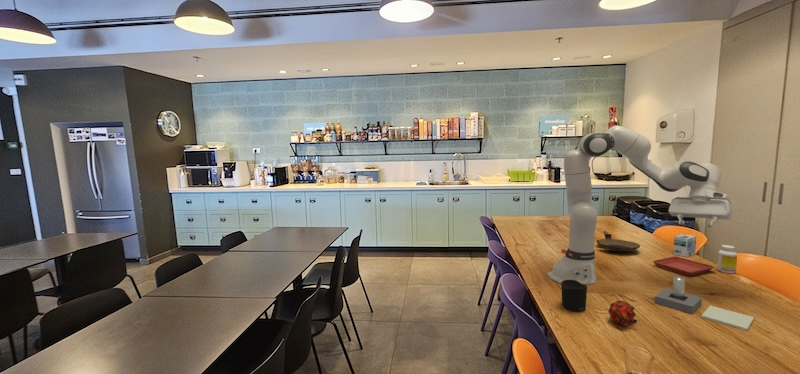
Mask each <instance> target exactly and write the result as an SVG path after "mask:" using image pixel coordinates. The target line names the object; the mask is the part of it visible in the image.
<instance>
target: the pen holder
mask: <svg viewBox="0 0 800 374" xmlns="http://www.w3.org/2000/svg"><path fill="white" fill-rule="evenodd" d="M560 284H561V305H562V307H563V309H565V310H567V311H570V312H574V313H581V312H584V311H586V307H587V294H588V284H581V283H580V282H578V281H576V280H564V281H562V282H561V283H560Z"/></svg>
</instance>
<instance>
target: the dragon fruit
mask: <svg viewBox="0 0 800 374" xmlns="http://www.w3.org/2000/svg"><path fill="white" fill-rule="evenodd" d="M607 313H608V314H609V315H610V318H611V319H612V320H613V321H614V323H615V324H616V325H617V326H621V325H622V326H628V325H630V324H636V323H637V322H638V319H635V317H636V316H637V314H636V312H635V307H634V306H633V305H632V304H630V303H629V302H628V301H626V300H616V301H615V302H612V303H611V304H609V309H608V311H607Z"/></svg>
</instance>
